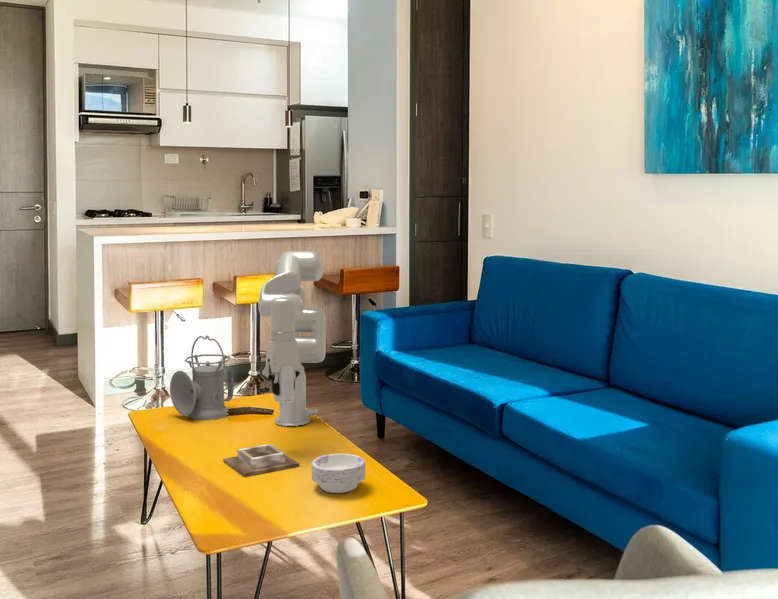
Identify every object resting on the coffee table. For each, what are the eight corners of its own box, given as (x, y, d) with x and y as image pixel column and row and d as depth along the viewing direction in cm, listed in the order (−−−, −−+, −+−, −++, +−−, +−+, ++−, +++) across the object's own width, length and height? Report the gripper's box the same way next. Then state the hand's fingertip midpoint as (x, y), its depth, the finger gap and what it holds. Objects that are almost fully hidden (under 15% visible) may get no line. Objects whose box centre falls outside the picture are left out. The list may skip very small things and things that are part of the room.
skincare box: (294, 402, 257) (294, 364, 255) (282, 404, 254) (282, 366, 252) (284, 398, 261) (284, 361, 260) (272, 400, 258) (272, 363, 257)
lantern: (167, 414, 303) (165, 335, 299) (216, 404, 319) (214, 328, 315) (199, 426, 289) (197, 343, 285) (249, 414, 305) (248, 335, 301)
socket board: (276, 452, 261) (276, 440, 260) (299, 466, 247) (299, 453, 247) (223, 461, 251) (223, 449, 250) (244, 477, 238) (244, 463, 237)
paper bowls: (314, 478, 238) (314, 451, 237) (366, 479, 237) (367, 452, 236) (308, 497, 222) (308, 469, 221) (363, 498, 222) (363, 470, 221)
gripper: (301, 332, 263) (301, 388, 265) (253, 337, 253) (253, 394, 255) (312, 336, 257) (312, 392, 259) (263, 340, 247) (264, 399, 249)
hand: (283, 392), depth 257 cm, fingers closed on skincare box, 4 cm apart
